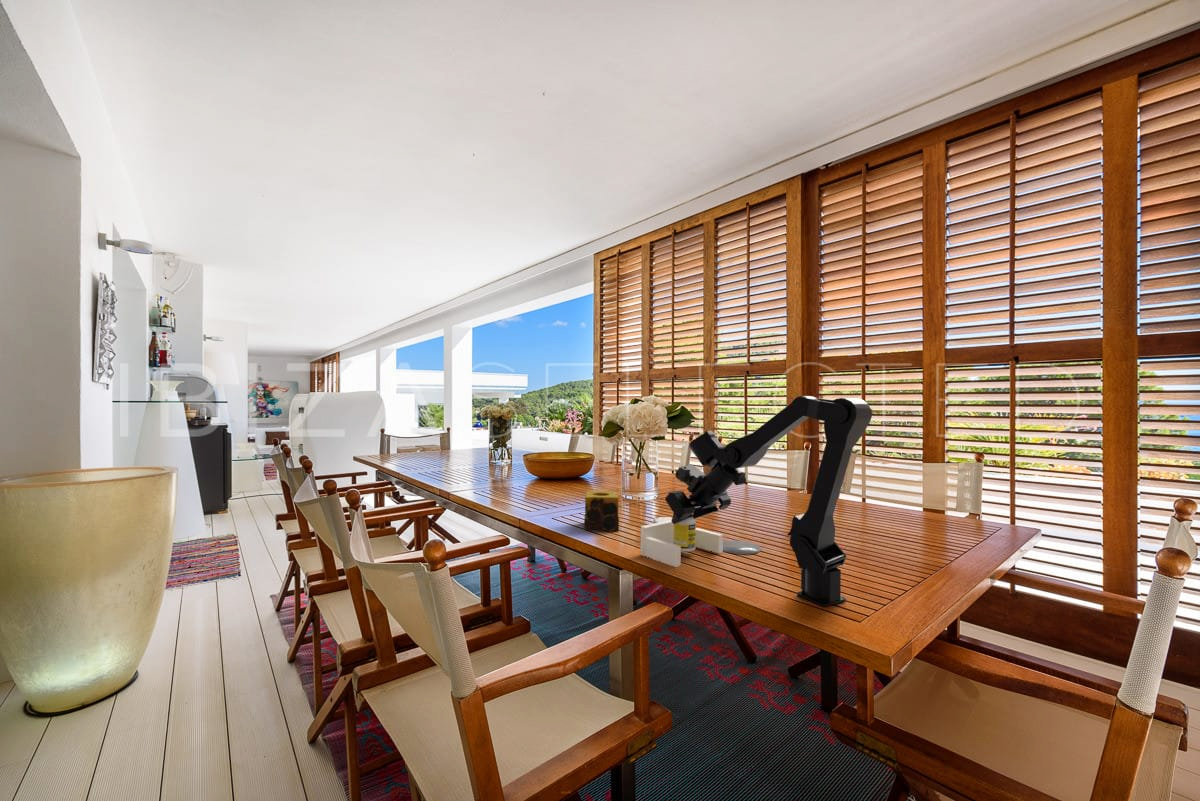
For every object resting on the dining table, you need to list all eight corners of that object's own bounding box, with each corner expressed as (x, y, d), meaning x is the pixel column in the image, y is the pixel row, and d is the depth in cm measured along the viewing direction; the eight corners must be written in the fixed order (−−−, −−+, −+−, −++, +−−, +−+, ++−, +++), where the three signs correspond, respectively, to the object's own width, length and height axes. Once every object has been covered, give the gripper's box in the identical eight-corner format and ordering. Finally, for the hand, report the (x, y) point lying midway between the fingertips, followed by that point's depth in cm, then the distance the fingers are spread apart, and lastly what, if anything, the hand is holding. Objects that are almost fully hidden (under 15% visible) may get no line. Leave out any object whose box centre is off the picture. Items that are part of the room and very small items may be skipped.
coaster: (770, 550, 128) (770, 549, 128) (737, 556, 122) (737, 555, 122) (739, 539, 137) (739, 538, 137) (707, 545, 132) (707, 543, 132)
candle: (619, 532, 144) (619, 497, 144) (584, 531, 145) (584, 497, 144) (618, 523, 155) (618, 490, 155) (585, 522, 155) (585, 490, 155)
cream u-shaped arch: (722, 552, 126) (723, 524, 126) (675, 567, 115) (676, 536, 115) (687, 542, 135) (687, 516, 135) (640, 554, 123) (640, 526, 123)
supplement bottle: (690, 553, 120) (690, 512, 120) (670, 549, 123) (670, 509, 123) (699, 547, 125) (699, 508, 125) (678, 544, 128) (678, 505, 128)
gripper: (720, 452, 127) (687, 490, 135) (671, 457, 115) (637, 499, 123) (747, 487, 121) (710, 525, 129) (698, 497, 109) (661, 537, 117)
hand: (680, 520), depth 125 cm, fingers closed on supplement bottle, 5 cm apart
